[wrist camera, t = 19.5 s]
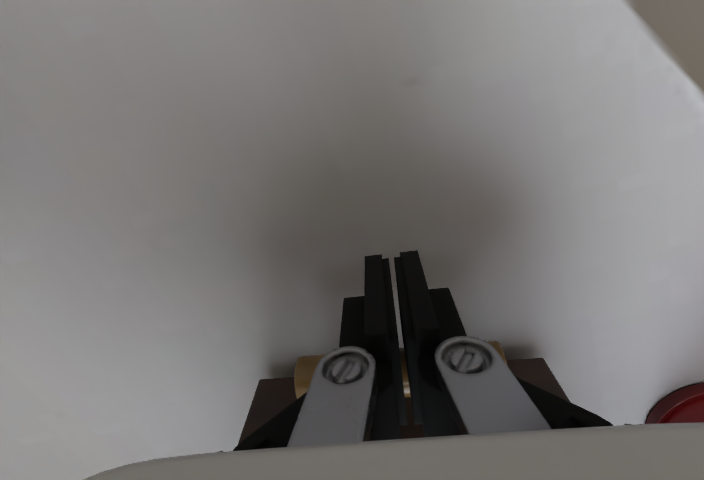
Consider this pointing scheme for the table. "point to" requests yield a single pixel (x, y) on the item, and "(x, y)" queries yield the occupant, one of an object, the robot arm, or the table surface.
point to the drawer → (286, 390)
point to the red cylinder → (680, 407)
